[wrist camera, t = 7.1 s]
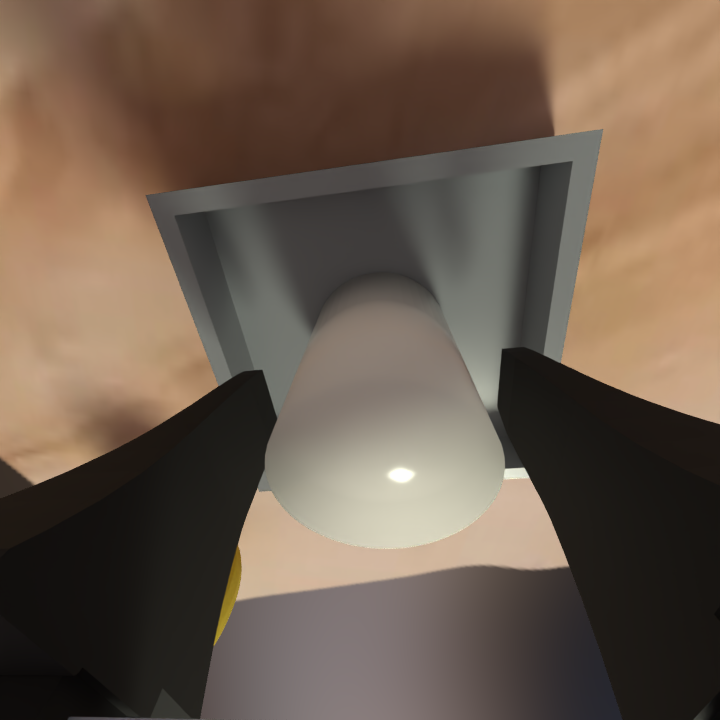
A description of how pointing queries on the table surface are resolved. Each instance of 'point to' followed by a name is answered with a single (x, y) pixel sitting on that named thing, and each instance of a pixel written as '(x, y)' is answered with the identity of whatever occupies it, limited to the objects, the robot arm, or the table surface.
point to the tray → (388, 254)
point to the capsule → (383, 423)
